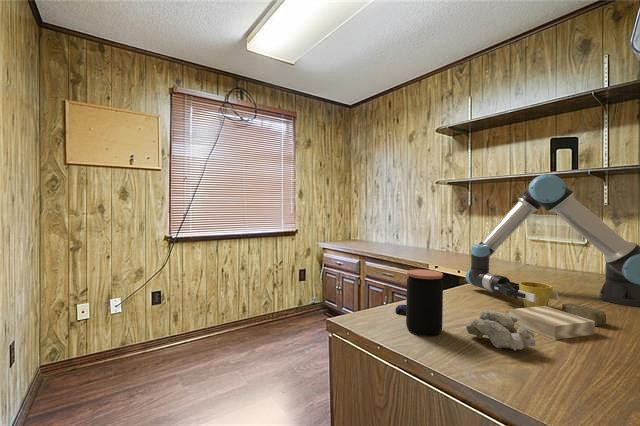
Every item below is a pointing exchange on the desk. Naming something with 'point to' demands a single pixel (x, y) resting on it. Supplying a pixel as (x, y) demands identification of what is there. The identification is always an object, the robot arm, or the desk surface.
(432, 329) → the coffee jar
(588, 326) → the birch block
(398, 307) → the race car
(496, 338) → the mineral
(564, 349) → the desk surface
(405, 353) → the desk surface
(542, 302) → the plant pot
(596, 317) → the stone block
